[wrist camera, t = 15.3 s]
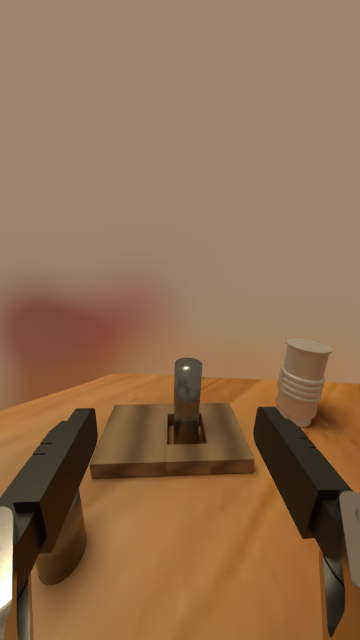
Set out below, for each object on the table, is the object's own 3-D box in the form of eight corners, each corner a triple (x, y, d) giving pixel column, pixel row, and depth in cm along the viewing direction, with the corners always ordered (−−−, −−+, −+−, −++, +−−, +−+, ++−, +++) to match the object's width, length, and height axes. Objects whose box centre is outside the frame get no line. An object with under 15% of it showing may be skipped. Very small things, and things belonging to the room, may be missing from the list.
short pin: (27, 586, 16) (4, 514, 14) (55, 524, 20) (41, 461, 17) (74, 583, 16) (59, 511, 14) (92, 523, 20) (84, 459, 18)
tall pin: (173, 452, 28) (175, 371, 25) (173, 430, 32) (174, 357, 28) (199, 451, 28) (204, 370, 25) (195, 429, 32) (199, 357, 29)
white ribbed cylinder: (270, 400, 40) (281, 336, 37) (305, 406, 39) (320, 340, 35) (278, 424, 34) (292, 349, 30) (321, 432, 32) (341, 355, 28)
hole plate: (91, 478, 24) (89, 464, 24) (115, 416, 35) (114, 404, 34) (252, 473, 25) (254, 459, 25) (228, 413, 36) (229, 403, 35)
